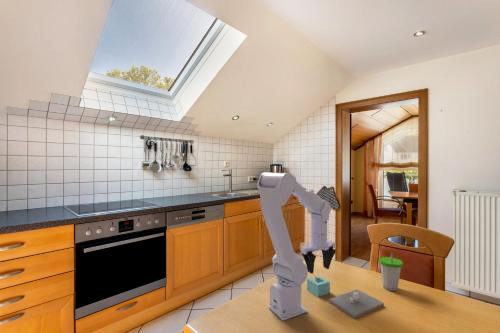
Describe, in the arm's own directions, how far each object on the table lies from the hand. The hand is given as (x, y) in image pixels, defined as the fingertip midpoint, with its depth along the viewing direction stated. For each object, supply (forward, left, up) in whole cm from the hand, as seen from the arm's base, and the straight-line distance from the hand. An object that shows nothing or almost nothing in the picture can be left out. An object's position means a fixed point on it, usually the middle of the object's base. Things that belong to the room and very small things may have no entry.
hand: (318, 270), depth 90 cm
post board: (+5, -12, -8) cm, 15 cm away
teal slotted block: (0, 0, -8) cm, 8 cm away
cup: (+25, -11, -8) cm, 28 cm away
